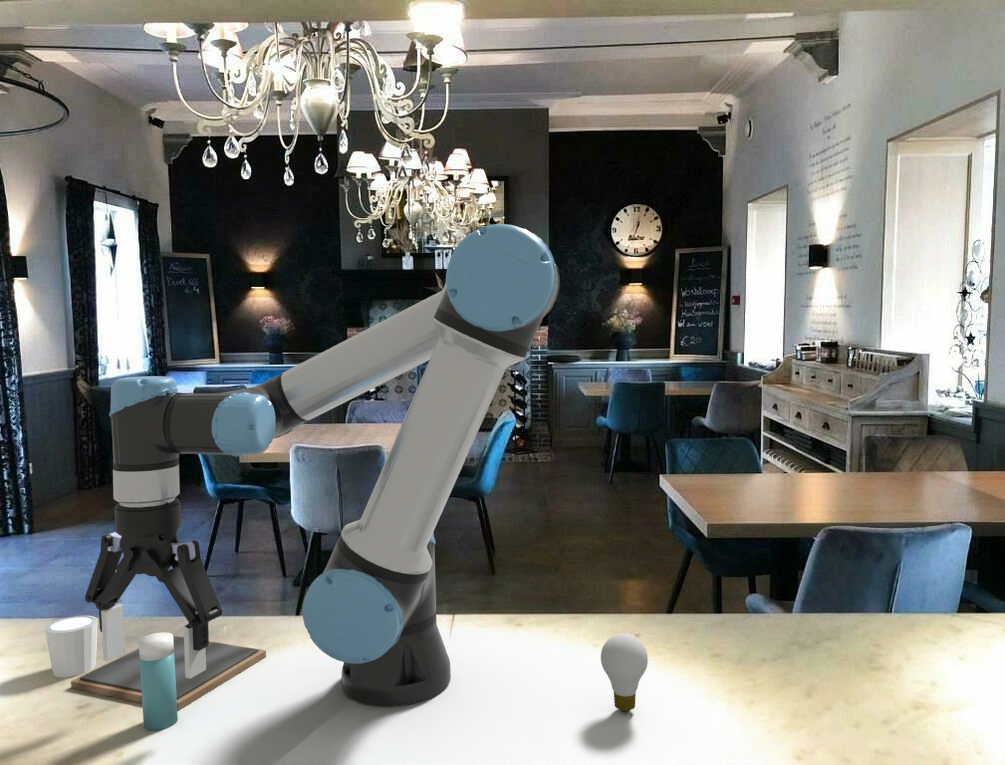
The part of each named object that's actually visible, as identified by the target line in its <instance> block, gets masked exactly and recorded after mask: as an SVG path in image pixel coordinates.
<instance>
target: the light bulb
mask: <svg viewBox="0 0 1005 765" xmlns="http://www.w3.org/2000/svg"><path fill="white" fill-rule="evenodd" d="M648 658H649V656H648V652H647V650H646V647H645V645H644V644H643V642H642V641H641V640H640V639H639V638H637V637H636V636H635V635H633V634H628V633H618V634H614V635H612V636H611V637H609V638H608V639H607V640H606V641H605V642H604V643H603V646H602V647H601V651H600V661H601V662H600V663H601V666H602V668H603V671H604V672H605V674H606V676H608V679H609V681H610V684H611V689H612V690H613V699H614V702H613V703H614V707H615V708H616V709H617V710H619V711H620V712H621V713H623V714H626V713H629V712H630V711H632V710H634V709H635V708H636V698H637V697H636V696H637V695H636V692H637V691H638V687H639V683H640V680H641V678H642V677H643V675H644V674H645V672H646V670H647V667H648V662H649V659H648Z"/></svg>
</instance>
